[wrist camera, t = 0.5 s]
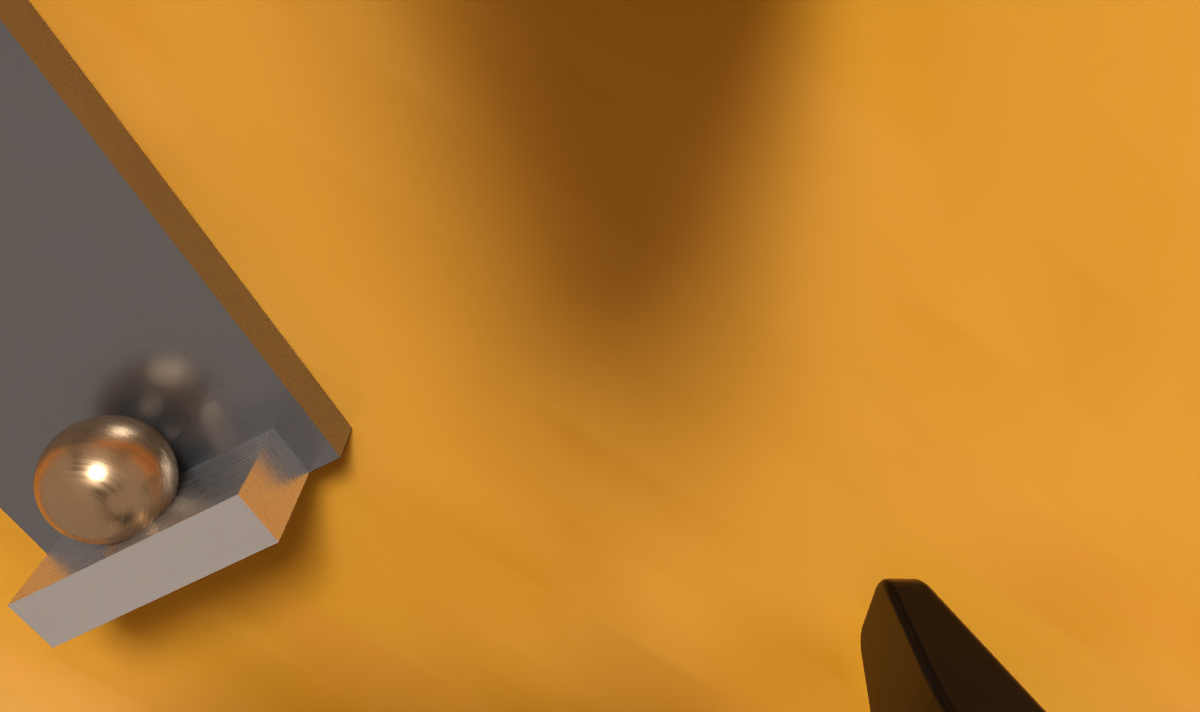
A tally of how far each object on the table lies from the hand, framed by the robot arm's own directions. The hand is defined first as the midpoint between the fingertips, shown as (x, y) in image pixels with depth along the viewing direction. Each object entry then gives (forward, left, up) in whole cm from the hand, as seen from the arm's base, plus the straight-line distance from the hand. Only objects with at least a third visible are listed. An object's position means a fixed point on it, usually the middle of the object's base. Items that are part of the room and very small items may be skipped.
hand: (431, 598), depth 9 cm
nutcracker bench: (-3, +14, -16) cm, 21 cm away
